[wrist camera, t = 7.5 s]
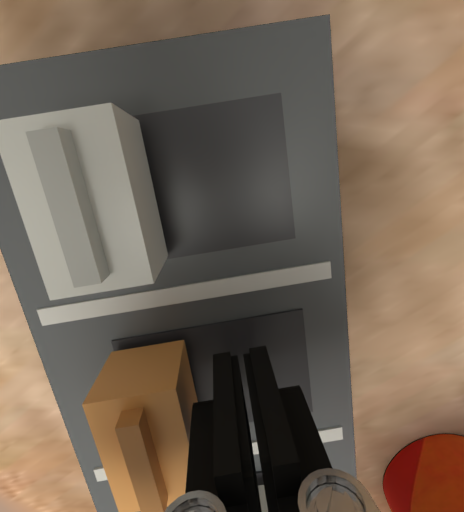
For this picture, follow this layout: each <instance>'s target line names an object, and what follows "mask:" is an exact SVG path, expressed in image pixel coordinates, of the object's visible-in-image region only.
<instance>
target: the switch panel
mask: <svg viewBox="0 0 464 512" xmlns="http://www.w3.org/2000/svg"><path fill="white" fill-rule="evenodd" d="M105 103H113V104H114V105H116V106H117V107H119V108H120V109H122V110H124V111H125V112H127V113H128V114H130V115H131V116H133V117H134V118H136V119H138V120H139V123H140V128H141V133H142V137H143V142H144V146H145V151H146V156H147V160H148V165H149V169H150V174H151V179H152V183H153V188H154V192H155V197H156V202H157V206H158V211H159V215H160V220H161V225H162V229H163V234H164V238H165V243H166V248H167V252H168V257H167V259H166V261H165V263H164V265H163V267H162V269H161V271H160V273H159V275H158V277H157V279H156V280H155V282H154V284H148V285H142V286H136V287H130V288H124V289H118V290H112V291H106V292H100V293H94V294H87V295H81V296H75V297H69V298H63V299H57V300H51V301H50V299H49V296H48V293H47V291H46V288H45V285H44V282H43V279H42V276H41V273H40V270H39V267H38V264H37V261H36V258H35V255H34V252H33V249H32V246H31V243H30V240H29V237H28V234H27V232H26V229H25V226H24V223H23V220H22V217H21V214H20V211H19V208H18V205H17V202H16V199H15V196H14V193H13V190H12V187H11V184H10V181H9V178H8V175H7V173H6V170H5V167H4V164H3V161H2V158H1V155H0V249H1V252H2V254H3V257H4V260H5V263H6V265H7V268H8V271H9V273H10V276H11V279H12V282H13V284H14V287H15V290H16V292H17V295H18V298H19V301H20V303H21V306H22V309H23V312H24V314H25V317H26V320H27V322H28V325H29V328H30V331H31V333H32V336H33V339H34V341H35V344H36V347H37V350H38V352H39V355H40V358H41V360H42V363H43V366H44V369H45V371H46V374H47V377H48V379H49V382H50V385H51V388H52V390H53V393H54V396H55V399H56V401H57V404H58V407H59V409H60V412H61V415H62V418H63V420H64V423H65V426H66V428H67V431H68V434H69V437H70V439H71V442H72V445H73V447H74V450H75V453H76V456H77V458H78V461H79V464H80V467H81V469H82V472H83V475H84V477H85V480H86V483H87V486H88V488H89V491H90V494H91V496H92V499H93V502H94V505H95V507H96V510H97V512H119V511H118V508H117V506H116V503H115V500H114V497H113V494H112V491H111V488H110V485H109V482H108V479H107V476H106V473H105V471H104V468H103V465H102V462H101V459H100V456H99V453H98V450H97V447H96V444H95V441H94V438H93V435H92V433H91V430H90V427H89V424H88V421H87V418H86V415H85V412H84V409H83V406H82V404H83V402H84V400H85V398H86V397H87V395H88V393H89V391H90V389H91V388H92V386H93V384H94V382H95V380H96V379H97V377H98V375H99V373H100V371H101V370H102V368H103V366H104V364H105V362H106V361H107V359H108V357H109V355H110V353H111V352H113V351H119V350H125V349H131V348H137V347H143V346H149V345H155V344H161V343H167V342H173V341H179V340H184V342H185V346H186V351H187V355H188V360H189V364H190V369H191V373H192V378H193V382H194V387H195V392H196V396H197V401H198V402H202V401H208V400H213V354H217V353H223V352H229V351H230V353H231V356H234V355H238V361H239V367H240V373H241V379H242V385H243V391H244V397H245V403H246V409H247V414H248V420H249V427H250V433H251V440H252V447H253V454H254V461H255V468H256V475H257V482H258V486H259V485H264V482H263V476H262V470H261V464H260V458H259V451H258V445H257V439H256V433H255V426H254V420H253V414H252V408H251V401H250V395H249V389H248V383H247V376H246V370H245V364H244V358H243V354H246V353H249V348H253V347H259V346H265V345H266V348H267V351H268V355H269V358H270V362H271V365H272V368H273V372H274V375H275V379H276V382H277V386H278V389H279V388H285V387H291V386H297V385H299V386H300V387H301V389H302V392H303V394H304V397H305V399H306V402H307V404H308V407H309V409H310V412H311V415H312V417H313V420H314V422H315V425H316V427H317V430H318V432H319V435H320V438H321V440H322V443H323V445H324V448H325V450H326V453H327V455H328V458H329V461H330V463H331V466H332V468H333V469H339V470H342V471H344V472H346V473H349V474H351V475H352V476H353V477H355V478H356V479H357V477H356V460H355V443H354V426H353V408H352V391H351V374H350V357H349V339H348V322H347V305H346V288H345V270H344V253H343V236H342V219H341V202H340V184H339V167H338V150H337V133H336V115H335V98H334V81H333V64H332V46H331V29H330V14H329V15H322V16H316V17H309V18H303V19H296V20H290V21H283V22H276V23H270V24H263V25H257V26H250V27H244V28H237V29H231V30H224V31H218V32H211V33H205V34H198V35H192V36H185V37H179V38H172V39H166V40H159V41H153V42H146V43H140V44H133V45H127V46H120V47H114V48H107V49H101V50H94V51H88V52H81V53H75V54H68V55H62V56H55V57H49V58H42V59H36V60H29V61H23V62H16V63H10V64H3V65H0V120H2V119H8V118H15V117H21V116H28V115H34V114H40V113H47V112H53V111H60V110H66V109H73V108H79V107H85V106H92V105H98V104H105ZM167 508H168V507H167ZM139 512H141V511H139Z"/></svg>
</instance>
